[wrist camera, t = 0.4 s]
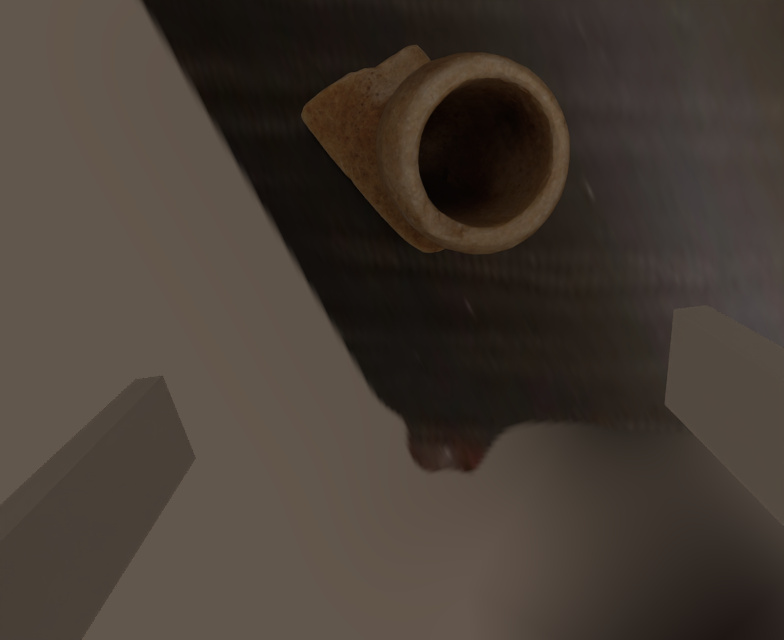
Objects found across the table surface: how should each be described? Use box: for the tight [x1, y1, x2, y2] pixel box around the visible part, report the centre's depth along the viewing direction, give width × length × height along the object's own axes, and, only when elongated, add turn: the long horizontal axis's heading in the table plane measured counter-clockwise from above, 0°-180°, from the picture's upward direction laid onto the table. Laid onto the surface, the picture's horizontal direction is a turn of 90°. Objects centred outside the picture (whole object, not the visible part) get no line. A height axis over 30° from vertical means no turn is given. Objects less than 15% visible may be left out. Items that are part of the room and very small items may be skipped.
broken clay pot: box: [301, 45, 570, 254], centre depth 28 cm, size 15×12×15 cm
